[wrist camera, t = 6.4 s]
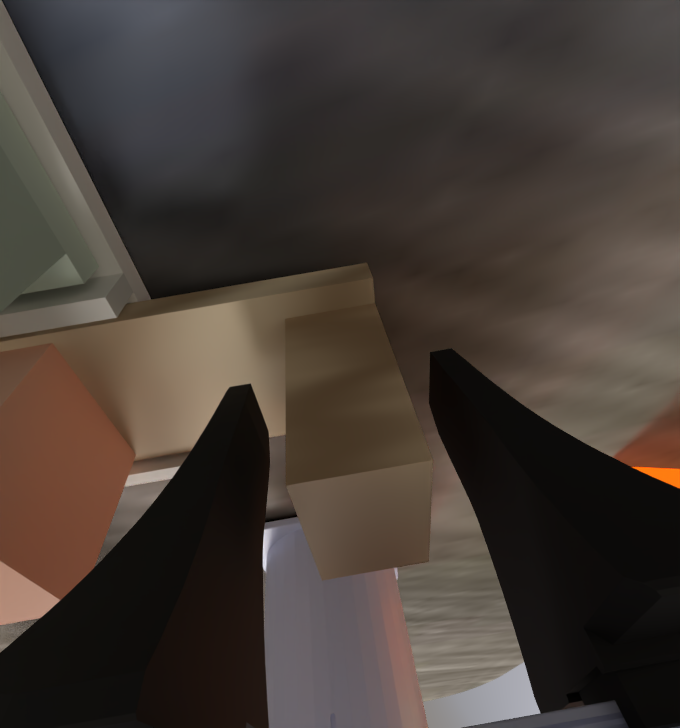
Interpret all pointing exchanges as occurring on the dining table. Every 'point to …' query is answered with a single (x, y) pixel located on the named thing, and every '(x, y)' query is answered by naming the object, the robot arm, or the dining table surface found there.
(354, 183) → the dining table surface
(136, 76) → the dining table surface
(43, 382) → the block
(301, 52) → the dining table surface
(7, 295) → the strip
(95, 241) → the lane board
